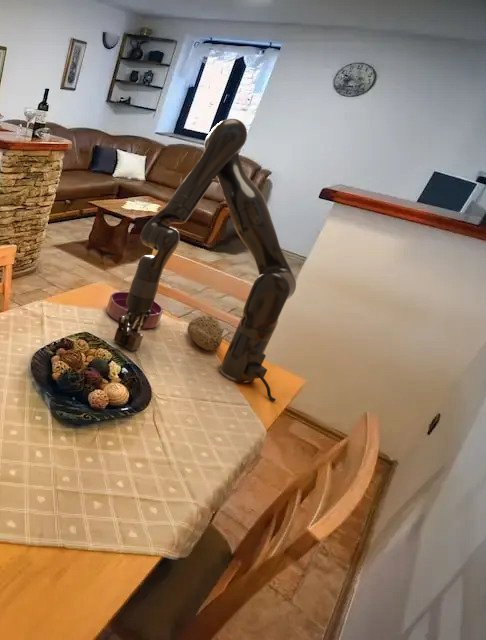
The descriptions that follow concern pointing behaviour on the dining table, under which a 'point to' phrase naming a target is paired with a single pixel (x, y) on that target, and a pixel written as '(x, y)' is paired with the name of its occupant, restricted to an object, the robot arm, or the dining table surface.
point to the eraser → (130, 339)
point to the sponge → (206, 332)
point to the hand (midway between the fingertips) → (126, 342)
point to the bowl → (120, 308)
